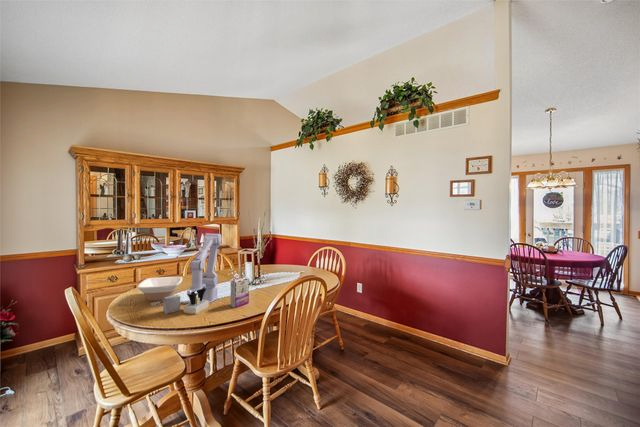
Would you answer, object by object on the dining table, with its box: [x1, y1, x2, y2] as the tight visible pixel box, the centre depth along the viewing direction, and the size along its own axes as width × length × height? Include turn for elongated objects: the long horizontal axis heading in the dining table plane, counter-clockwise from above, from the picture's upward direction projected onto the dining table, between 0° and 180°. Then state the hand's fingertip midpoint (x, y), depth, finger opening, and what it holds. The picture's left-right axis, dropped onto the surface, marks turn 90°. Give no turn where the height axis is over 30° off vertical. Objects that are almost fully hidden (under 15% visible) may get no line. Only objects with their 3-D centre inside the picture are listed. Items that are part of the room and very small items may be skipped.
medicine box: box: [162, 294, 181, 315], centre depth 160 cm, size 8×4×9 cm, turn 141°
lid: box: [186, 296, 206, 307], centre depth 164 cm, size 10×6×4 cm, turn 168°
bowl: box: [137, 276, 183, 302], centre depth 183 cm, size 24×25×11 cm
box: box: [183, 300, 210, 315], centre depth 164 cm, size 12×8×4 cm, turn 167°
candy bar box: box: [230, 276, 250, 309], centre depth 174 cm, size 11×5×16 cm, turn 149°
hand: (196, 302), depth 164 cm, fingers open, 6 cm apart
